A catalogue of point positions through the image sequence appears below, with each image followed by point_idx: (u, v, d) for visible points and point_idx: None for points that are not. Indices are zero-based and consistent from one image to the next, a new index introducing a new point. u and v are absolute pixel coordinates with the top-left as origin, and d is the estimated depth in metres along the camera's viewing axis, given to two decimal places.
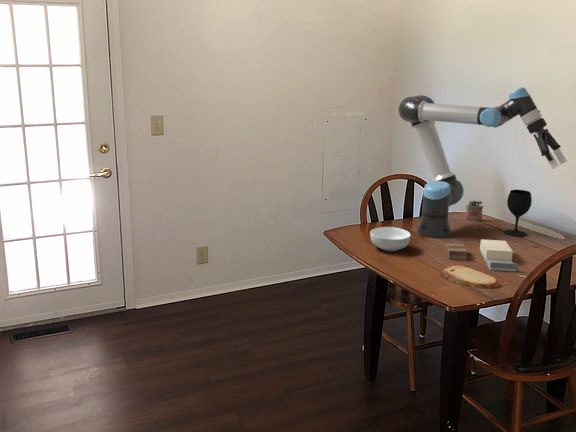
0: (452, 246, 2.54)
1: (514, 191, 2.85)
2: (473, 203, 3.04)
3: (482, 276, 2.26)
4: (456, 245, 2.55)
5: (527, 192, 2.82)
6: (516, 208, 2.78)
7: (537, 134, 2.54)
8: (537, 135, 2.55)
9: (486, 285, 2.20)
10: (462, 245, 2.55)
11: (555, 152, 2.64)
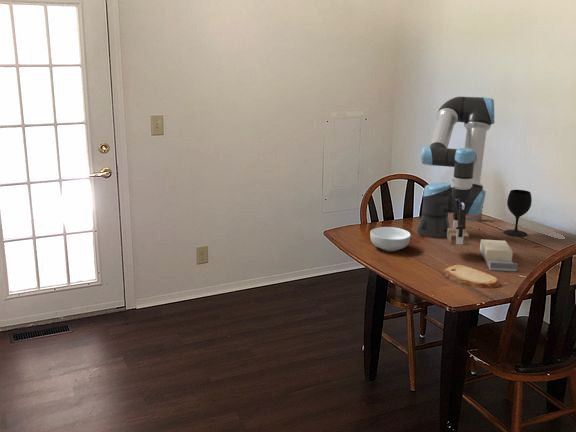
0: (453, 230, 2.53)
1: (514, 191, 2.85)
2: None
3: (483, 275, 2.27)
4: None
5: (527, 192, 2.82)
6: (516, 208, 2.78)
7: None
8: None
9: (487, 284, 2.20)
10: None
11: None
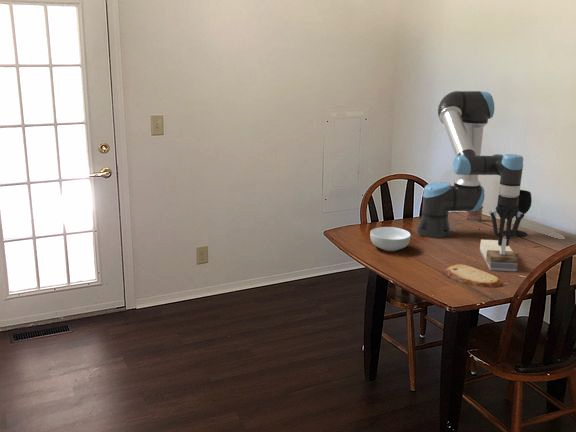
0: None
1: None
2: None
3: (484, 275, 2.27)
4: (508, 254, 2.41)
5: (527, 192, 2.82)
6: None
7: None
8: None
9: (488, 284, 2.21)
10: (511, 256, 2.38)
11: None
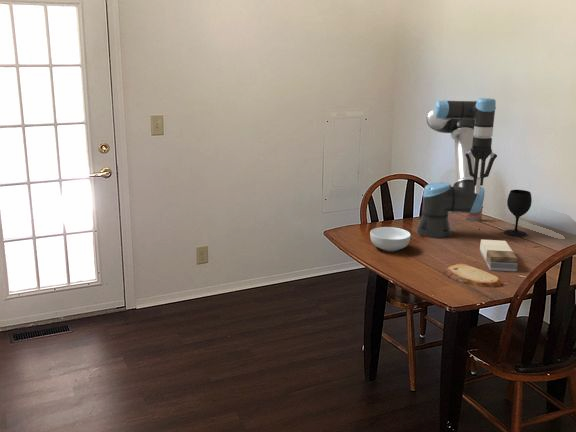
0: (504, 253, 2.43)
1: (514, 191, 2.85)
2: None
3: (484, 274, 2.27)
4: (508, 254, 2.41)
5: (527, 192, 2.82)
6: (516, 208, 2.78)
7: None
8: None
9: (488, 284, 2.21)
10: (511, 256, 2.38)
11: None
